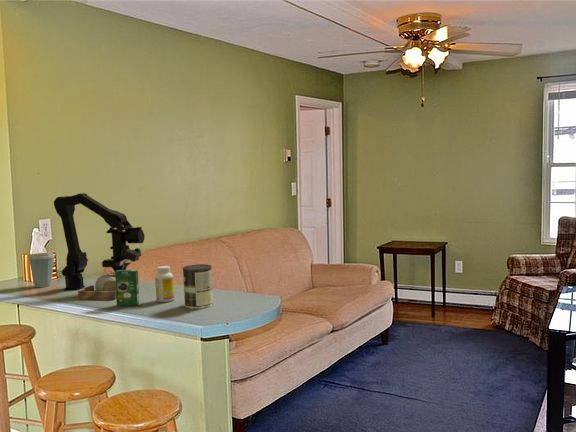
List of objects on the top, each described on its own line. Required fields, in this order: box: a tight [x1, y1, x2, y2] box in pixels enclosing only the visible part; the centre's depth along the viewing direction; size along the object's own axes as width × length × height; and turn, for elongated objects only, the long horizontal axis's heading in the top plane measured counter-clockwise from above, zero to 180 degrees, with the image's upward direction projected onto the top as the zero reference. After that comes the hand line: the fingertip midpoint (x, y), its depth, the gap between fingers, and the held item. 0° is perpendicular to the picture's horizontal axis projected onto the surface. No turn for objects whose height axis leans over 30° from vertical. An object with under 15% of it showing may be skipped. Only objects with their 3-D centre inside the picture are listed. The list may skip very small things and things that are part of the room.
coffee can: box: [182, 263, 214, 310], centre depth 209 cm, size 10×10×14 cm
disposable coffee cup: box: [28, 252, 56, 288], centre depth 256 cm, size 11×11×15 cm
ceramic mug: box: [94, 274, 116, 291], centre depth 233 cm, size 11×8×8 cm
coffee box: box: [114, 269, 140, 307], centre depth 213 cm, size 8×3×13 cm, turn 87°
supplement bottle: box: [154, 265, 175, 303], centre depth 218 cm, size 7×7×13 cm
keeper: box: [77, 284, 116, 301], centre depth 231 cm, size 18×11×3 cm, turn 76°
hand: (121, 280), depth 244 cm, fingers closed
